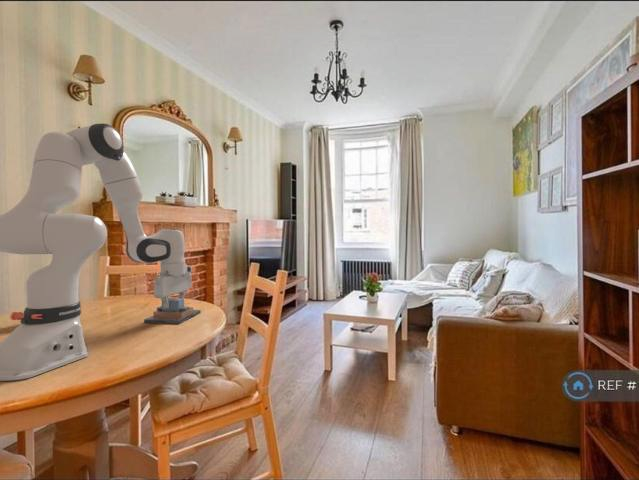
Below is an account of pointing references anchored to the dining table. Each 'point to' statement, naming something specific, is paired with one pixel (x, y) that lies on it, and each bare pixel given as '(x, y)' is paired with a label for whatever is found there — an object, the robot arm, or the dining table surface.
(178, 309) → the block
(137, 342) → the dining table surface
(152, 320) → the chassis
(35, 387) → the dining table surface
